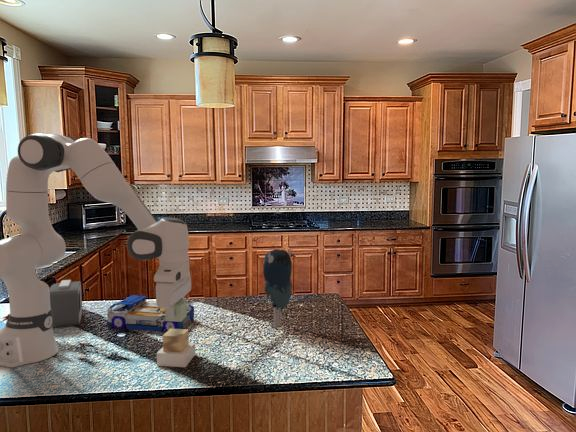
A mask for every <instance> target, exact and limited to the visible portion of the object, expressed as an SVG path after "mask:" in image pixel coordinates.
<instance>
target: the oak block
mask: <svg viewBox="0 0 576 432" xmlns="http://www.w3.org/2000/svg"><path fill="white" fill-rule="evenodd" d="M189 335H190V334H189V329H186V328H185V329H169V330H168V331H167V332H166V331H165V333H164V334H162V347H163V351H167V352H183V351H184V349H185V348H186V347H187V346H188V345H189V343H190V342H189Z"/></svg>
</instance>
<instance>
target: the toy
mask: <svg viewBox="0 0 576 432" xmlns="http://www.w3.org/2000/svg"><path fill="white" fill-rule="evenodd" d="M291 251H292V250H291V249H289V250H288V251H287V250H285V249H279V248H276V249H273V250H269V252H267V253H265V256H264V262H263V267H262V268H263V269H262V271H263V273H262V274H263V278H264V282H265V283H264V289H263V290H264V292H265V294H266V297H267V299H266V300H267V301H268V300H269V298H270V306H271V307H273V313H274V317H273V319H274V320H273V322H272V321H271V323H270V327H272V328H273V329H274V328H275V329H278V328H279V327H282V324H281V323H282V322H281V321H282V316H283V315H282V312H284V309H285V308H286V310H289V309H288V304H289V303H290V300H291V297H292V296H293V293H292V287H293V286H292V285H293V283H292V279H291V278H292V277H291V276H292V271H293V270H292V269H293V263H292V259H291V257H292V252H291Z"/></svg>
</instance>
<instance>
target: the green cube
mask: <svg viewBox="0 0 576 432" xmlns="http://www.w3.org/2000/svg"><path fill="white" fill-rule="evenodd" d="M186 303H187V300H184V301H178V302H176V303H175V306H174V311H176V316H175V317H174V318H169V317H168V311H167V309H165V321H175V322H181V321H182V320H184V319H185V318H186V317H187V304H188V303H187V304H186Z"/></svg>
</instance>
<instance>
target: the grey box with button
mask: <svg viewBox="0 0 576 432" xmlns="http://www.w3.org/2000/svg"><path fill="white" fill-rule="evenodd" d="M49 288H50V306H51V309H52V314H53V324H52V328H61V327H72V326H79V325H81V321H82V319H83V318H82V317H83V296H82V295H83V292H82V282H81V281H80V280H79V281H72V279H63V280H61V281H60V282H56V283H53V284H51V286H49Z"/></svg>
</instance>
